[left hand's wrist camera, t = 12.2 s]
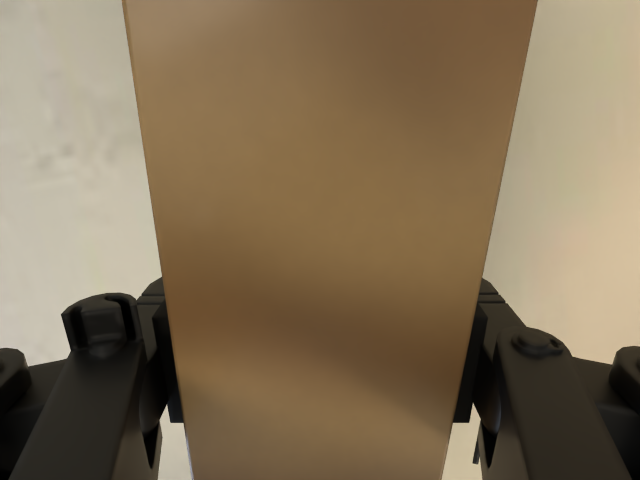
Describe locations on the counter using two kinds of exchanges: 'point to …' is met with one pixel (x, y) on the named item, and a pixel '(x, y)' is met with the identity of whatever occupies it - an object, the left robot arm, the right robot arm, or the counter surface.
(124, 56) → the counter surface
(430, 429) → the bar
